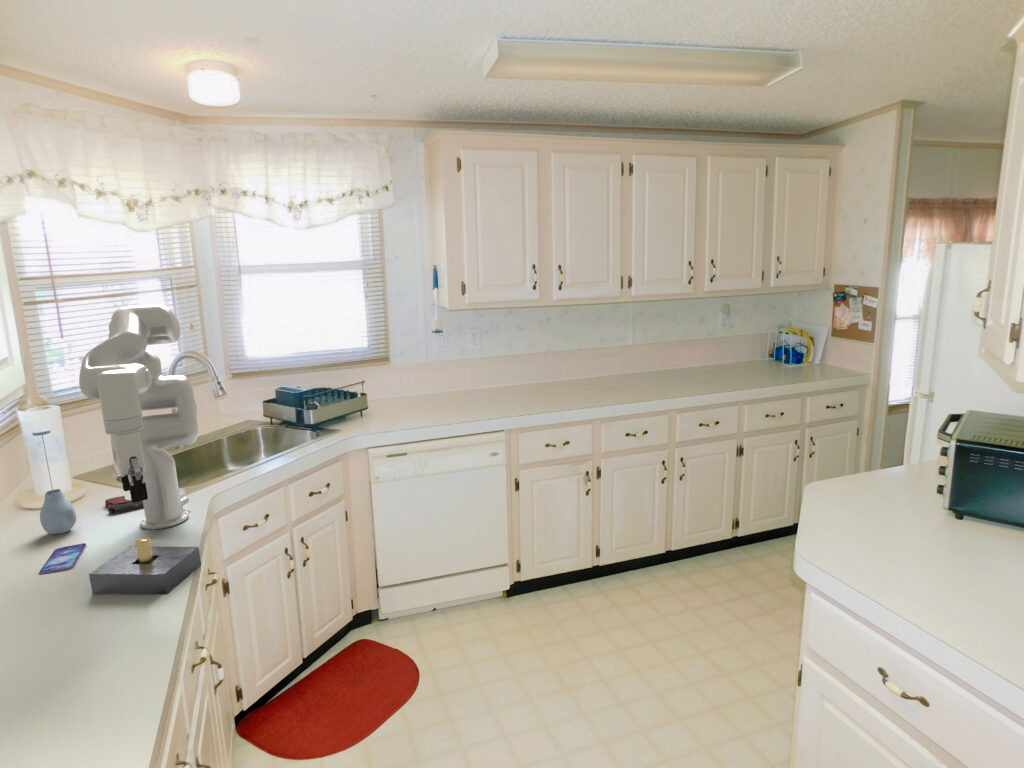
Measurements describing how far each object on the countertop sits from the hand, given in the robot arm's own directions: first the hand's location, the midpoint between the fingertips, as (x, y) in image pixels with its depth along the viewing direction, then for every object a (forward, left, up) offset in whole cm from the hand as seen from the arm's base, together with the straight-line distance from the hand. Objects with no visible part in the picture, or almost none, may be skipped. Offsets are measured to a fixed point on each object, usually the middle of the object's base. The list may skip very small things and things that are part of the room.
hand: (135, 495), depth 149 cm
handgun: (-47, -36, -22) cm, 63 cm away
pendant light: (-26, -44, -21) cm, 55 cm away
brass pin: (0, 0, -21) cm, 21 cm away
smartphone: (-10, -30, -22) cm, 38 cm away
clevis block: (0, 0, -21) cm, 21 cm away
